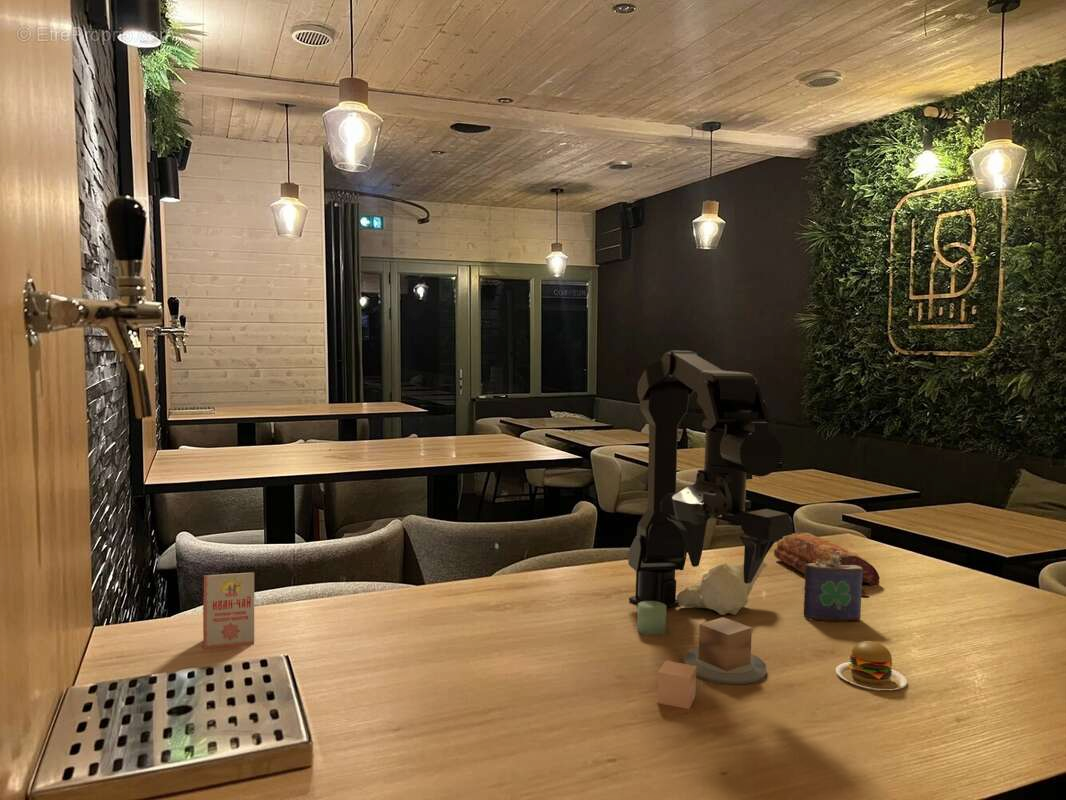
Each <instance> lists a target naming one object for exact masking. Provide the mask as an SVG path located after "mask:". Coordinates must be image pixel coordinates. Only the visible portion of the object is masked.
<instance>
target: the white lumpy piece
mask: <svg viewBox="0 0 1066 800" xmlns="http://www.w3.org/2000/svg"><path fill="white" fill-rule="evenodd" d="M766 567H768V563H767V562H766V561H765V558H764V559H763V561H762V563H761V565H760V567H759V569H758V571H757V573H756V574H755V576H754V578H753V580H752V582H751V583H748V584H746V583H744V562H742V563H735V564H729V563H726V562H724V563H719V564H718V565H716V566H714V567H711V568H710V569H709V570H708V572H706V573H704V574H702V578H701V581H700V582H699V583H697V584H694V585H692V586H688V587H685V589H684V590H681V591H679V593H678V594H677V595H676V599H677V600H678V602H679V604H678V605H679V606H682V607H684V608H693V607H694V608H698V609H702V608H703V609H709V610H713V611H715V612H716V613H717V614H719V615H721V616H722V615H723V616H725V615H727V614H731V615H733V616H735V615H737V614H738V612H739V611H740V610H741V609H742V608H745V606H746V605H747V604H748V602H749V595H750V594H751V592H752V589H753V586H754V584H755V583H756V581H757V580H758V579H759V578H760V575H761V573H762V572H763V571H764V569H766Z"/></svg>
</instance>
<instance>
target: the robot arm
mask: <svg viewBox="0 0 1066 800" xmlns="http://www.w3.org/2000/svg"><path fill="white" fill-rule="evenodd" d="M636 389H637V397H638V400H639V409H640V411H641V413H642V415H643V417H644V418H645V420H646V421H647V423H648V460H647V461H648V462H647V463H648V464H647V465H648V468H647V469H648V471H647V507H646V508H647V509H646V510H645V512H644V514H643V515H642V516H641V518H640V520H639V521H638V523H637V528H636V536H634V539H633V541H632V544H631V545H630V547H629V549H628V551H627V560H628V562H627V563H628V565H629V567H631V568H632V570H634V571H636V572H635V595H633V596H630V597H628V600H629V601H630V602H632V603H634V604H637V605H638V603H640V602H642V601H657V602H661V603H663V604H665V605H666V608H670V607H673V606H677V605H680V604H679V602H678V600H677V595H676V594H677V579H676V571H684V570H685V569H684V568H685V565H686V561H687V555H688V557H689V561H690V565H691V567H693V568H695V567H696V568H697V567H699V565H700V563H701V558H702V554H703V548H704V543H705V542H704V541H705V537H706V530H707V524H708V521H709V519H711V518H712V519H717V520H721V521H725V522H729V523H733V524H736V525H740V528H741V530H742V532H743V533H744V534H743V535H739V539H740V541H741V542H742V544H743V546H744V549H743V550H744V555H743V563H744V583H746V584H748V583H751V582H752V580H753V578H754V576H755V574H756V573H757V571H758V569H759V567H760V565H761V563H762V561H763V559H764V560H765V558H766V556H767V554H768V552H770V550H771V548H772V547H773V546H774V544H775V543H776V542H777V541H779V540H781V539H783V537H784V536H787V535H792V534H793V525H794V524H793V519H792V517H791V516H790V515H789V513H787V512H782V511H778V510H773V509H770V508H764V509H759V510H757V509H756V510H752V511H745V510H749V509H751V508H752V501H751V500H749V499H746V497H747V496H746V495H747V494H746V492H747V480H753V476H754V477H766V476H768V475H770V474H773V473H774V472H775V471H776V470H777V469H778V467H779V466H780V464H781V462H782V457H783V449H782V447H781V444H780V441H779V440H778V438H777V437H776V436H775V435H774V434H772V433H771V432H769V430H770V429H769V428H770V427H769V426H770V418H769V415H770V412H769V409H768V407H767V404H766V402H765V400H764V398H763V397H764V396H763V395H762V392H761V388H760V386H759V383H758V382H757V379H756V378H755V376H754V375H753V374H752V373H750V372H749V373H748V372H742V371H732V370H731V371H730V370H723V369H721V368H719V367H718V366H716V365H714V364H713V363H711V362H709V361H707V360H705V359H704V358H702V357H701V356H699V354H698V353H697V352H694V351H693V350H669V351H666V352H665V353H664V354H663V356H662V357H661V358H660V360H658V361H656V362H654V363H653V364H651V365H650V366H648V367H646V368H645V369H644V371H643V373H642V374H641V376H640V378H639V380H638V382H637V388H636ZM695 393H696V394H697V399H696V402H697V404H698V406H700V408H701V409H702V411H703V414H704V415H705V417H706V418H705V419H703V421H702V423H701V425H702V427H704V428H705V441H704V442H705V444H704V445H705V447H704V468H703V469H698V470H697V473H696V479H695V483H693V484H691V485H688V486H686V487H685V488H683V489H681V490H680V491H677V470H678V469H677V463H678V462H677V461H678V460H677V459H678V428H679V425H680V423H681V422H682V420H683V419H684V417H685V415H686V413H688V410H689V400H690V399H691V397H692V396H693V394H695Z"/></svg>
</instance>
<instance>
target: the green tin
mask: <svg viewBox="0 0 1066 800" xmlns="http://www.w3.org/2000/svg"><path fill="white" fill-rule="evenodd" d="M636 621H637V622H636V626H637V627H636V630H637V632H638V633H640V634H643V635H647V636H662V635H664V634H665V633H666V632H667V631H666V629H667V627H666V623H667V607H666V605H665V604H663V603H661V602H657V601H642V602H640V603H638V604H637V620H636Z"/></svg>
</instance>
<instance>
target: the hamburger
mask: <svg viewBox="0 0 1066 800" xmlns="http://www.w3.org/2000/svg"><path fill="white" fill-rule="evenodd" d="M849 660H850V661H848V662H843V663H841V664H839V665H837V666H836V668H835V673H836V675H837V676H839V677H840V679H843V680H845V681H846V682H847V683H849V682H850V684H852V685H854V686H856V687H859V686H860V688H862V687H863V689H866V688H867V689H866V690H871V689H873V690H872V691H880V690H889V691H895V690H900V689H902V688H905V687H906V686H908V680H907V678H906V677H905V675H903V674H902V673H901V672H899V671H898V670H895V669H894V668H893V662H892V661H893V658H892V654H891V652H890V650H889V649H888V648H887V647H886V646H885V645H883V644H881V643H880V642H877V641H872V640H864V641H859V642H857V643H856V644H855V645H854V646H853V647H852V649H851V654H850V656H849ZM848 668H849V669H848ZM846 670H849V671H850V672H851V674H852V675H851V676H853V678H854V679H856V680H857V679H858V680H857V681H859V680H860V681H859V682H862V683H865V684H869V683H870V684H869V685H885V684H887V683H888V682H889V681H890V679H891V676H892V675H893V676H892V677H894V676H895V677H894V678H896V680H898V679H899V680H898V681H899V686H897V687H895V688H875V687H869V686H866V685H860V684H858V683H855V682H852V681H850V680H848V679H847V678H846V677H844V676H843V672H845V671H846Z"/></svg>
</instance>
